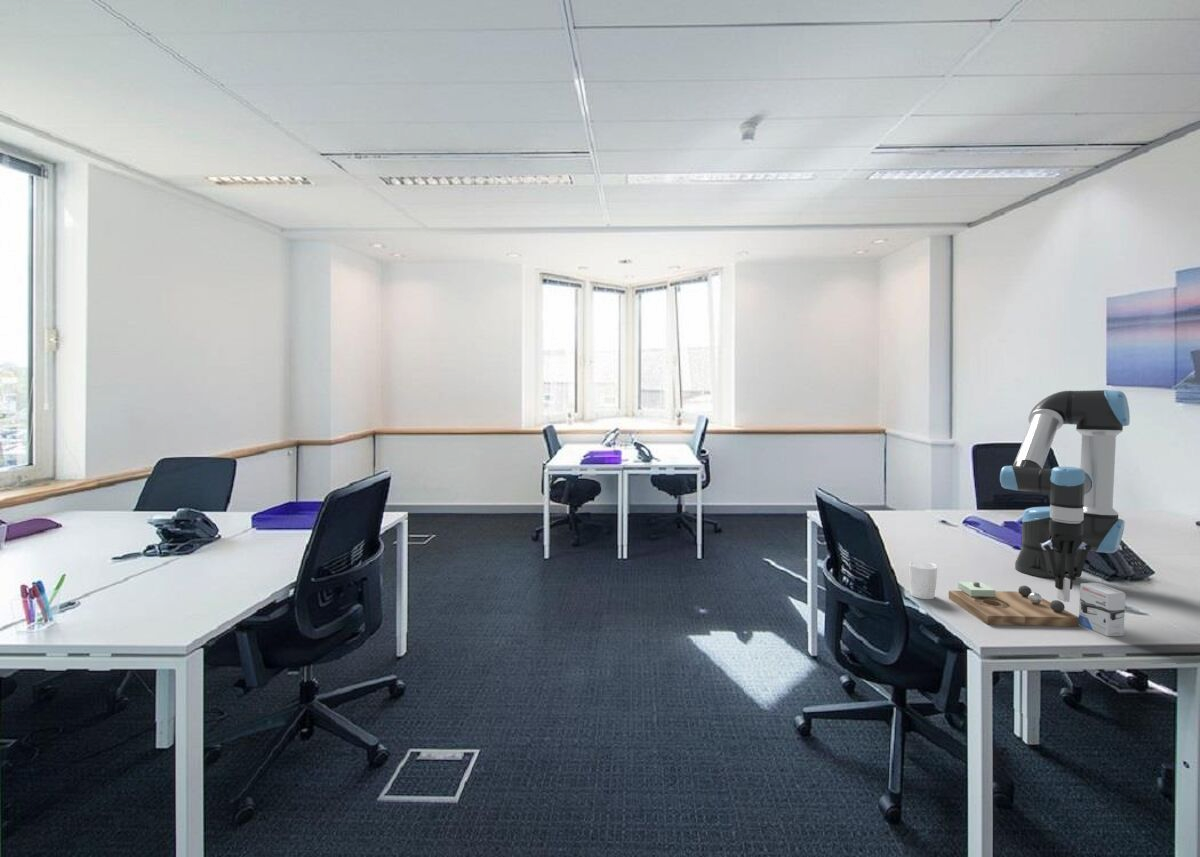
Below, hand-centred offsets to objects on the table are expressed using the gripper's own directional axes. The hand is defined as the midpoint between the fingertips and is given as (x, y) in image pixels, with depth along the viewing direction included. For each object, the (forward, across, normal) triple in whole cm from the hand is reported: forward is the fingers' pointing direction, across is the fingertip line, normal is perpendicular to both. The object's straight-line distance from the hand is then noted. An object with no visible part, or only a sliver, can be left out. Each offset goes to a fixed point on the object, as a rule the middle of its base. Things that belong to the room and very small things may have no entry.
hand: (1063, 599), depth 163 cm
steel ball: (0, +8, 0) cm, 8 cm away
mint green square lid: (+1, +20, -8) cm, 21 cm away
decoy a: (0, +7, -6) cm, 9 cm away
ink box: (+4, -1, +12) cm, 13 cm away
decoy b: (0, +6, +6) cm, 8 cm away
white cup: (+4, +34, -12) cm, 36 cm away
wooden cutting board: (+4, +15, 0) cm, 15 cm away
